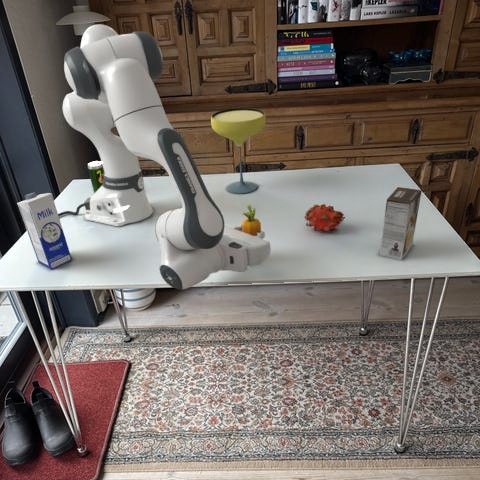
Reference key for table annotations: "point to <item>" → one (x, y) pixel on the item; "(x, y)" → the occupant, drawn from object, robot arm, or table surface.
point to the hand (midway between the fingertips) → (254, 230)
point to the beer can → (95, 174)
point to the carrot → (251, 223)
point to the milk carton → (45, 229)
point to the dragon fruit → (323, 218)
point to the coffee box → (400, 222)
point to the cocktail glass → (239, 135)
